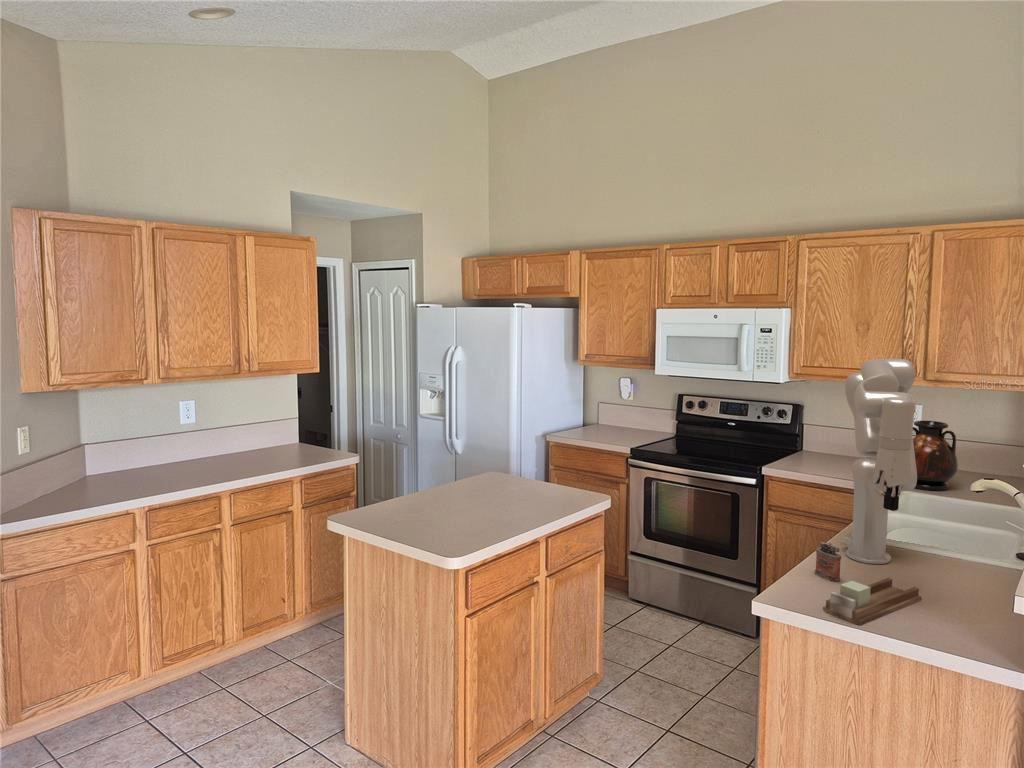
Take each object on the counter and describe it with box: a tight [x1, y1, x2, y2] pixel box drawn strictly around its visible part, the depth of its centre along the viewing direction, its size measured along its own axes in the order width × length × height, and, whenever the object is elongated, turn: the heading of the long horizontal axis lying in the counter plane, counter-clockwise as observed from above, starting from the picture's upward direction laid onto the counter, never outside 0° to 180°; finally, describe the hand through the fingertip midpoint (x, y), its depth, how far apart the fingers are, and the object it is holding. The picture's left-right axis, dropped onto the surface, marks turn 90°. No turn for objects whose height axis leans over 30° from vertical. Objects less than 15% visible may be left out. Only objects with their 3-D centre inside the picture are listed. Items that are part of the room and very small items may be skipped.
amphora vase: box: [912, 420, 959, 492], centre depth 299 cm, size 22×22×28 cm
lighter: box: [814, 541, 842, 583], centre depth 201 cm, size 8×3×10 cm, turn 23°
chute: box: [822, 577, 922, 626], centre depth 183 cm, size 10×28×6 cm, turn 121°
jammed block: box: [839, 580, 871, 610], centre depth 178 cm, size 5×5×6 cm
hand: (890, 509), depth 188 cm, fingers closed
